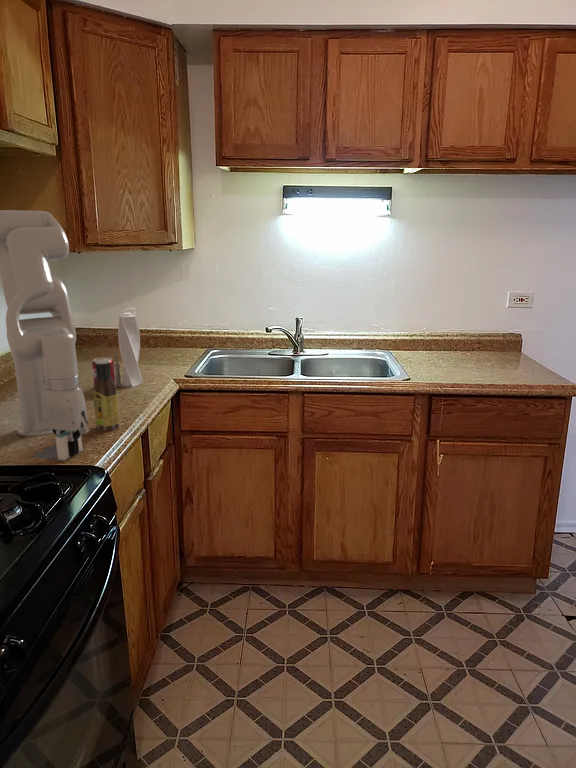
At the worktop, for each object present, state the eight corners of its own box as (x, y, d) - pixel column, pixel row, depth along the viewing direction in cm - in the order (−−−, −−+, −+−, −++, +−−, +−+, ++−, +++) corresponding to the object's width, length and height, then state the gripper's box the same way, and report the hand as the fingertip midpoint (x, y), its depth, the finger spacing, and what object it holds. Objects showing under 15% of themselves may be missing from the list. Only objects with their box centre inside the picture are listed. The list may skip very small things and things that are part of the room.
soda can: (107, 397, 195) (104, 362, 192) (89, 395, 197) (86, 361, 194) (120, 391, 202) (118, 358, 198) (103, 389, 204) (100, 356, 201)
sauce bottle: (94, 428, 165) (88, 360, 160) (117, 424, 168) (111, 357, 163) (99, 435, 160) (92, 365, 155) (122, 431, 163) (116, 362, 157)
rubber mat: (53, 447, 151) (53, 445, 151) (85, 451, 148) (85, 449, 148) (31, 458, 144) (31, 456, 144) (64, 463, 141) (64, 461, 141)
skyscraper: (130, 381, 216) (125, 306, 209) (148, 383, 213) (142, 307, 205) (115, 386, 209) (108, 309, 201) (132, 389, 205) (126, 310, 198)
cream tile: (76, 449, 148) (74, 426, 146) (82, 450, 148) (80, 427, 146) (58, 459, 142) (55, 436, 140) (64, 460, 141) (61, 436, 140)
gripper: (25, 384, 139) (34, 456, 144) (79, 390, 134) (87, 463, 139) (46, 377, 146) (54, 445, 150) (99, 382, 141) (106, 452, 146)
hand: (70, 453), depth 145 cm, fingers closed on cream tile, 1 cm apart
